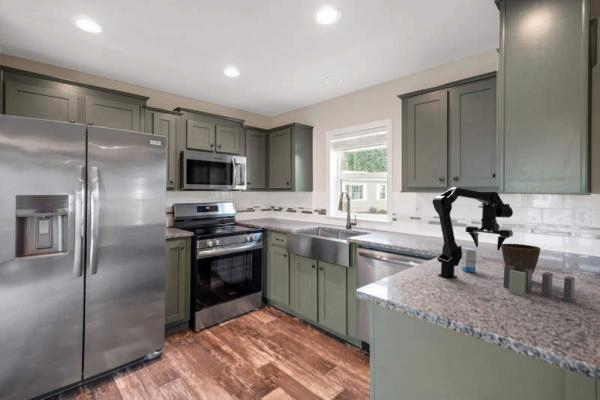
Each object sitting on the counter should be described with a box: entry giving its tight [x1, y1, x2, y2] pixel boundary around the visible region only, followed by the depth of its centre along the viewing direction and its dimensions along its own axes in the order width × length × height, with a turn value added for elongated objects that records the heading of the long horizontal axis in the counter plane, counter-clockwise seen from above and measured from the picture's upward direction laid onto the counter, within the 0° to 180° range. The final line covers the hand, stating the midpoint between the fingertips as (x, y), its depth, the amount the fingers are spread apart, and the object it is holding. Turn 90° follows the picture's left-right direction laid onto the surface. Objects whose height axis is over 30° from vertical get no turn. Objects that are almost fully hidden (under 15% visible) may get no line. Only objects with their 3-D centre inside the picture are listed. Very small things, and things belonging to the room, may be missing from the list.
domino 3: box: [541, 271, 553, 298], centre depth 113 cm, size 5×2×9 cm, turn 126°
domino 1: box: [503, 265, 514, 289], centre depth 124 cm, size 5×2×9 cm, turn 126°
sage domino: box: [508, 270, 527, 297], centre depth 115 cm, size 2×5×9 cm, turn 36°
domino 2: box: [522, 268, 533, 294], centre depth 118 cm, size 5×2×9 cm, turn 126°
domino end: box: [563, 275, 576, 304], centre depth 108 cm, size 5×2×9 cm, turn 126°
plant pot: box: [500, 243, 542, 275], centre depth 135 cm, size 15×15×16 cm
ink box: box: [459, 246, 477, 274], centre depth 149 cm, size 9×5×12 cm, turn 168°
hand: (487, 248), depth 139 cm, fingers open, 9 cm apart
